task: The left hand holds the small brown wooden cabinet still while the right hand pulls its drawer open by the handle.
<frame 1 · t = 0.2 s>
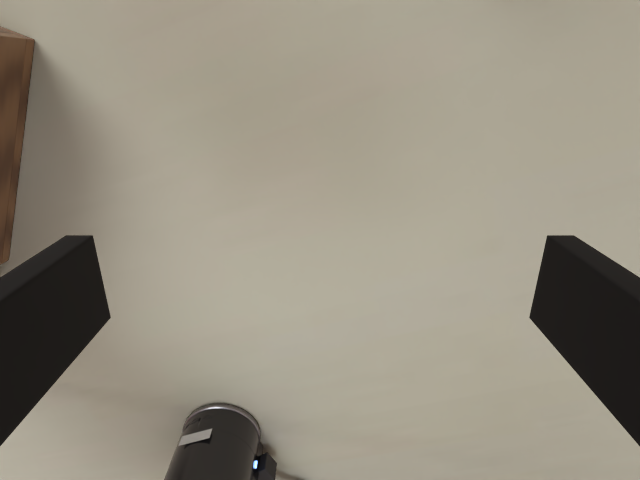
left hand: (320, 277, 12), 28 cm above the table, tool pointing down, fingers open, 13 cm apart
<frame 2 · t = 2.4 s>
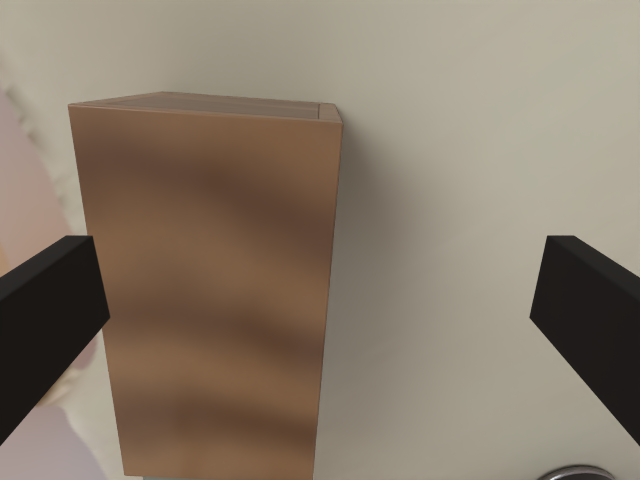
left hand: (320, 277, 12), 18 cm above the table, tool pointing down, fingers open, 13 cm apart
drawer: (235, 355, 29), point 6 cm above the table, slide at 1.0 cm
cabinet: (248, 247, 32), on the table
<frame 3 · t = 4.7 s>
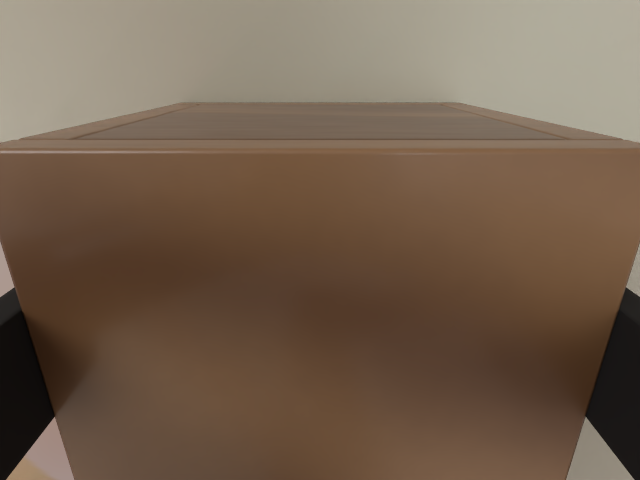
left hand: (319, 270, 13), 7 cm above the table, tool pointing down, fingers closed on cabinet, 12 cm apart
cabinet: (319, 326, 21), on the table, touching left hand
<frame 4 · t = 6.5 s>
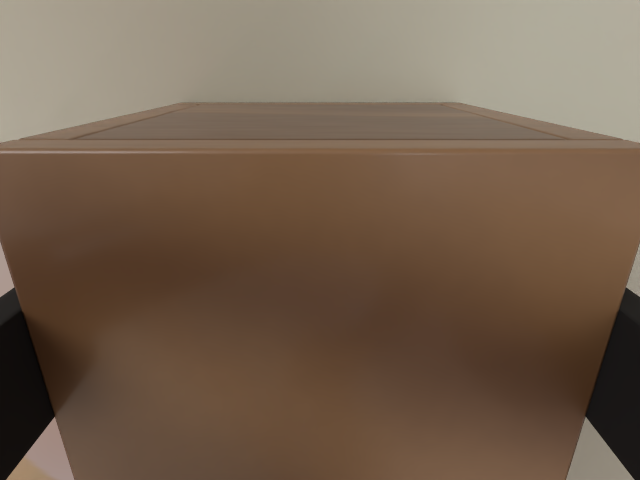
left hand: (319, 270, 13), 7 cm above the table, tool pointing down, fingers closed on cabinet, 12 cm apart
cabinet: (319, 326, 21), on the table, touching left hand
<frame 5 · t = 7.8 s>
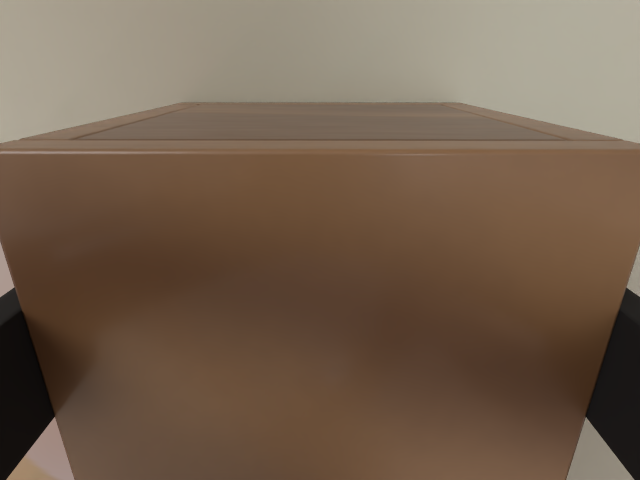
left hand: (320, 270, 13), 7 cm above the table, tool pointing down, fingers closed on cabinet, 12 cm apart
cabinet: (320, 326, 21), on the table, touching left hand
when the left hand's fingers open (7 cm above the table, at t = 9.4 s): cabinet stays where it is, on the table.
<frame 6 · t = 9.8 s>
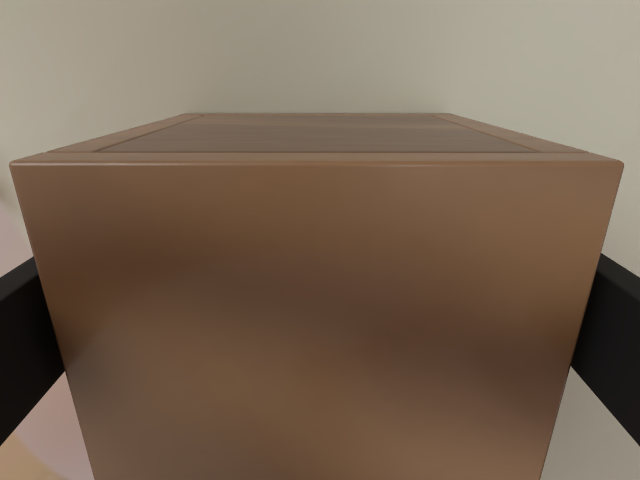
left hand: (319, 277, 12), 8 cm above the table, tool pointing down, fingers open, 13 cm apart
cabinet: (318, 327, 22), on the table
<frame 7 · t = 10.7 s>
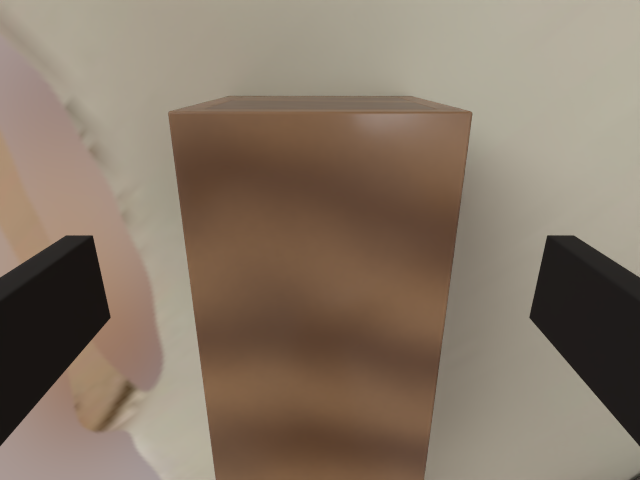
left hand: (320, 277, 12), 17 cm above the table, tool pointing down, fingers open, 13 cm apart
cabinet: (320, 255, 30), on the table
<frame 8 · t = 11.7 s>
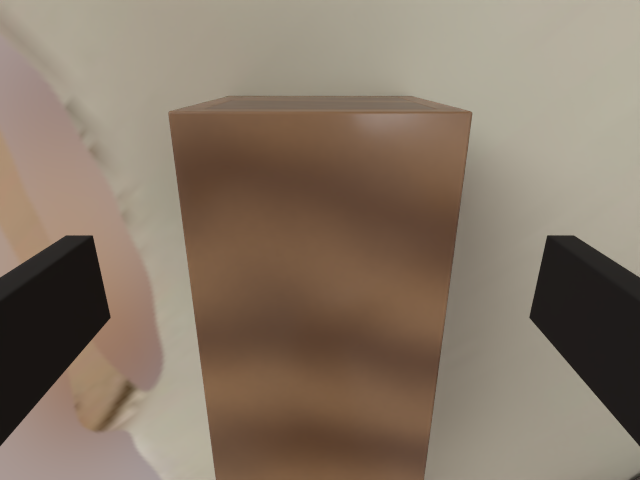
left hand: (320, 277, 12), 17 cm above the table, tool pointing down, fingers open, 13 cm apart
cabinet: (320, 255, 30), on the table
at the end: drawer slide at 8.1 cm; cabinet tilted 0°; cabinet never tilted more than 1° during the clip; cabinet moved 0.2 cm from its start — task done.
